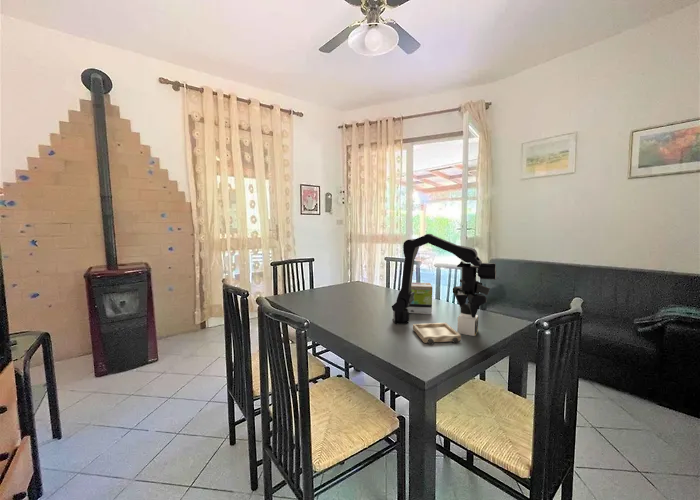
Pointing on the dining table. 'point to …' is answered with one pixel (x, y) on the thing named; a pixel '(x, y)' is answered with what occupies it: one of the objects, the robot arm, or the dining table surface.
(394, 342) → the dining table surface
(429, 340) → the trolley
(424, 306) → the tea box
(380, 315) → the dining table surface
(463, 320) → the medicine bottle
